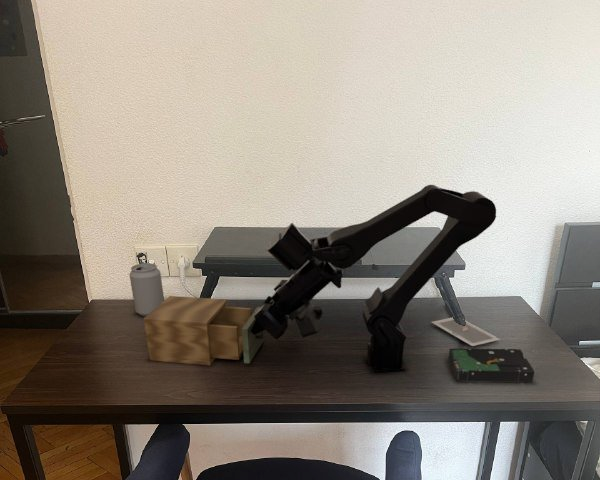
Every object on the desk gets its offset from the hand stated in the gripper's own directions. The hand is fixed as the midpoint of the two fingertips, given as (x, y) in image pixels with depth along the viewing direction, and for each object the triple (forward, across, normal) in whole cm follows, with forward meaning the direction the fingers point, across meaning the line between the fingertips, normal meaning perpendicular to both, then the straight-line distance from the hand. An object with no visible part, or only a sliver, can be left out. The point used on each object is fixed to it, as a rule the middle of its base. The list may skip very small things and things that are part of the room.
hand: (252, 332), depth 119 cm
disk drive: (-29, +5, -39) cm, 49 cm away
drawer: (+8, +4, 0) cm, 9 cm away
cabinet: (+16, +4, +6) cm, 17 cm away
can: (+29, +23, +19) cm, 41 cm away
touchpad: (-26, +22, -36) cm, 50 cm away
